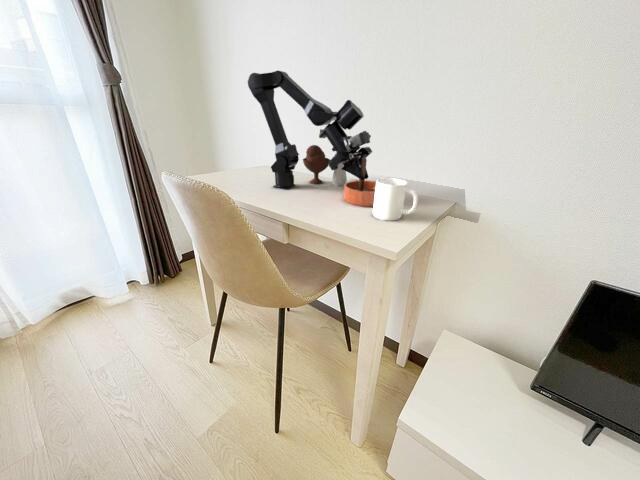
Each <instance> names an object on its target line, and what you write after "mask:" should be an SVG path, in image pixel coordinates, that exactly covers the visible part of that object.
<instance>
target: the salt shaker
mask: <svg viewBox="0 0 640 480" xmlns="http://www.w3.org/2000/svg"><path fill="white" fill-rule="evenodd" d="M336 154H337V152H336V151H335V153H334V156H335V155H336ZM342 167H343V163H339V164H338V169H336V170H333V174H332V183H333V185H334V186H335V187H344V184H345V183H347V182H348V177H347V171H345V170H342Z"/></svg>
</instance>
